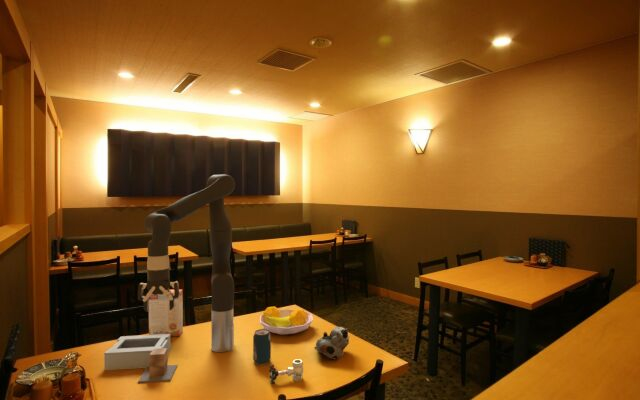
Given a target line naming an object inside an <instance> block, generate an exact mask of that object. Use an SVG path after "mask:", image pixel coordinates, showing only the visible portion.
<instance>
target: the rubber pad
mask: <svg viewBox="0 0 640 400" xmlns="http://www.w3.org/2000/svg"><path fill="white" fill-rule="evenodd" d="M177 368H178V364H167V371H166V373H165V375H164V376H151V377H150V370H149V367H147V368H145V370H144V371H143V373H142V374H141V376H140V378H139V379H138V381H137V384H145V383H159V382H171V380H172V378H173V376H174V374H175V372H176V370H177Z"/></svg>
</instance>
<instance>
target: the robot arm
mask: <svg viewBox="0 0 640 400" xmlns="http://www.w3.org/2000/svg"><path fill="white" fill-rule="evenodd" d="M235 187H236V182H235V180H234V178H233V177H232V176H231V175H229V174H224V173H223V174H213V175H211V176H209V177H208V179H207V182H206V187H205V188H204V189H201V190H198V191H196V192H194V193H191V194H188V195H186V196H184V197H182V198H180V199H179V200H177V201H175V202H174V203H171V204H169V205H168V206H166V207H163V208H160V209H158V210H156V211H154V212H152V213H150V214H148V215H147V217H145V219H144V222H143V225H144V229H145V230H147V232H151V233H152V234H151V235H152V236H151V239H150V240H149V241H148V242H147V263H146V264H147V265H146V269H147V274H146V275H147V283H144V282H139V284H138V285H137V301H142V303H143V310H144V311H145V312H149V297H150V296H151V294H154V295H157V294H160V295H163V294H165V295H166V296H167V297H168V298H169V299H170V300H169V306H170V310H172V309H173V308H174V299H176V298H178V297H179V295H180V294H179V289H180V283H179V281H178V280H176V281H170V257H169V256H170V255H169V240H170V237H171V232H172V223H174V222H175V223H176V222H179V221H182V220H183V219H185V218H187V217H188V216H190V215H192V214H193V213H195V212H197V211H198V210H199V209H202V208H203V207H205V206H206V205H208V213H209V217H208V218H209V240H210V241H209V243H210V251H211V252H210V253H211V256H212V269H211V279H210V283H211V306H210V310H211V311H210V312H211V313H210V314H211V319H210V320H211V321H210V322H211V323H210V324H211V329H210V332H211V337H210V338H211V343H210V344H211V350H212V351H213V352H215V353H224V352H229V351H233V350H234V345H235V344H234V343H235V333H234V332H235V323H234V304H235V303H234V302H235V281H234V278H233V276H232V270H231V263H230V259H231V258H230V257H231V252H232V251H231V250H232V244H233V241H232V240H233V231H232V230H233V228H232V223H231V221H230V217H229V216H228V214H227V211H226V208H225V207H226V206H225V197H227V196H229V195H231V194H232V193H234V192H233V191H234V190H235V189H236V188H235ZM170 287H172V288H173V290H174V293H175V295H173V294H172V292H171V291H170V290H171V289H170ZM146 288H147V290H148V292H147V293H146V295H144V289H146Z"/></svg>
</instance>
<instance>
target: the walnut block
mask: <svg viewBox="0 0 640 400" xmlns="http://www.w3.org/2000/svg"><path fill="white" fill-rule="evenodd" d="M167 365H168V354H167V348H162V349H153V350H152V352H151V353H150V355H149V370H150V377H151V376H164V375H165V373H166V371H167Z"/></svg>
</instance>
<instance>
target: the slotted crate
mask: <svg viewBox="0 0 640 400" xmlns="http://www.w3.org/2000/svg"><path fill="white" fill-rule="evenodd" d="M116 340H117V341H116V343H115V344H113V346H112V347H111V348H109V349H107V350H106V351H105V352H104V355H103V357H104V359H103V360H104V363H103V364H104V371H113V370H114V371H115V370H130V369H131V370H132V369H146V368H147V367H149V355H150V353H151V352H152V350H153V349H162V348H167V355H168V354H169V353H170V351H171V346H172V345H171V336H170V334H158V335H149V334H144V335H126V336H125V335H123V336H120V337H118V339H116Z"/></svg>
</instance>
